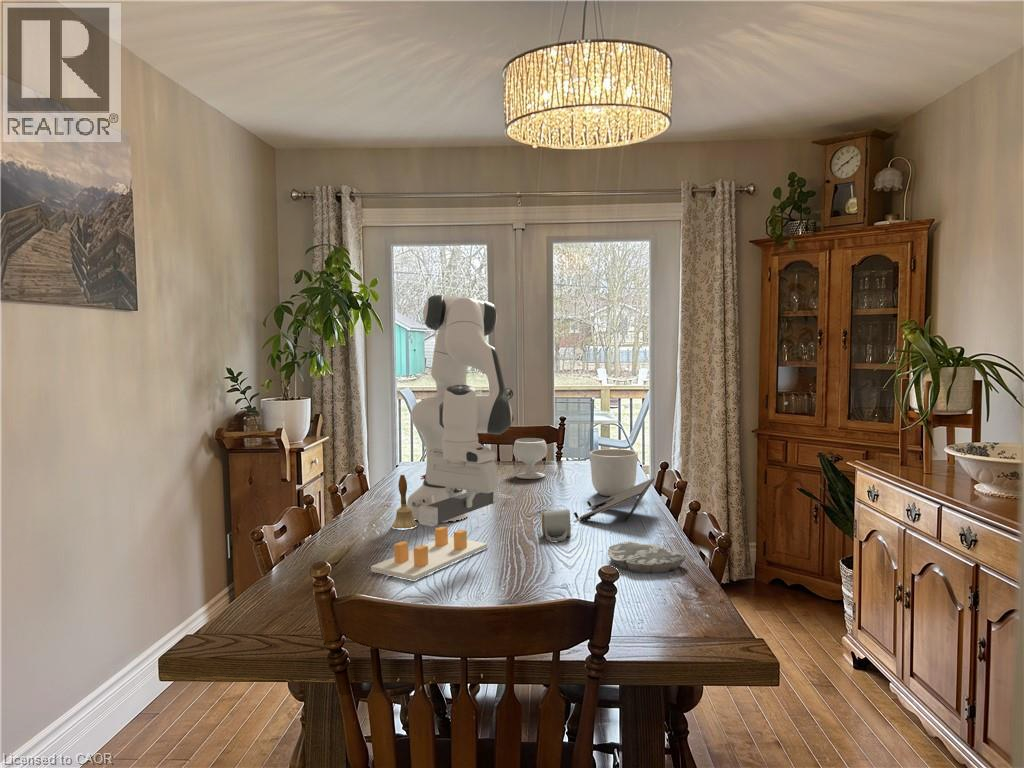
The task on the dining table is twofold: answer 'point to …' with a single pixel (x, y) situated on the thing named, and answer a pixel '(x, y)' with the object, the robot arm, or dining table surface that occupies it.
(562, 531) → the ceramic mug
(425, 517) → the bar
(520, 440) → the chalice
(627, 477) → the planter
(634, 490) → the portable electronic device stand
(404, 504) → the hand bell
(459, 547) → the pegged board
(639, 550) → the brain slice
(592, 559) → the dining table surface
